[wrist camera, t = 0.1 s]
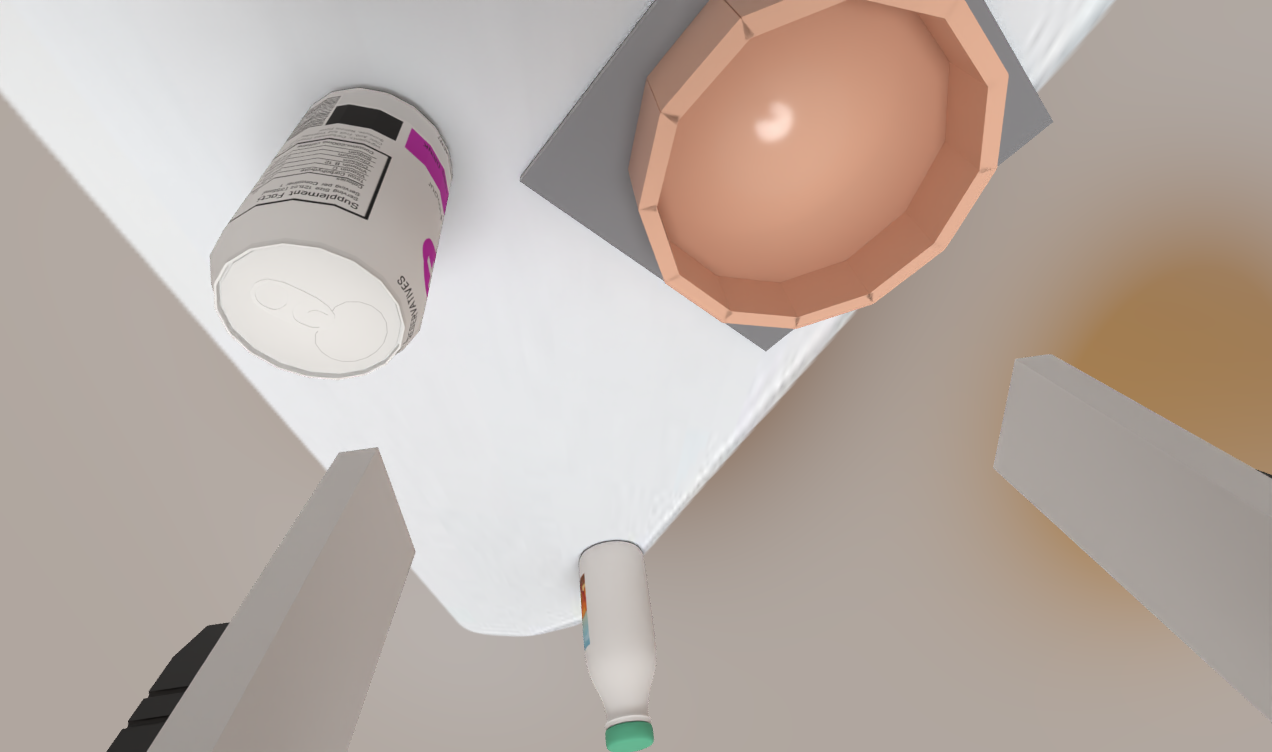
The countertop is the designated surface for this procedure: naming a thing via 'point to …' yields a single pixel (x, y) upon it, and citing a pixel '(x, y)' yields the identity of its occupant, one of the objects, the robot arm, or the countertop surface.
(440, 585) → the countertop surface
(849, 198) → the peach faceted bowl
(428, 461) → the countertop surface
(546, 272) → the countertop surface
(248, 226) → the supplement can
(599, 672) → the milk bottle
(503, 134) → the countertop surface
